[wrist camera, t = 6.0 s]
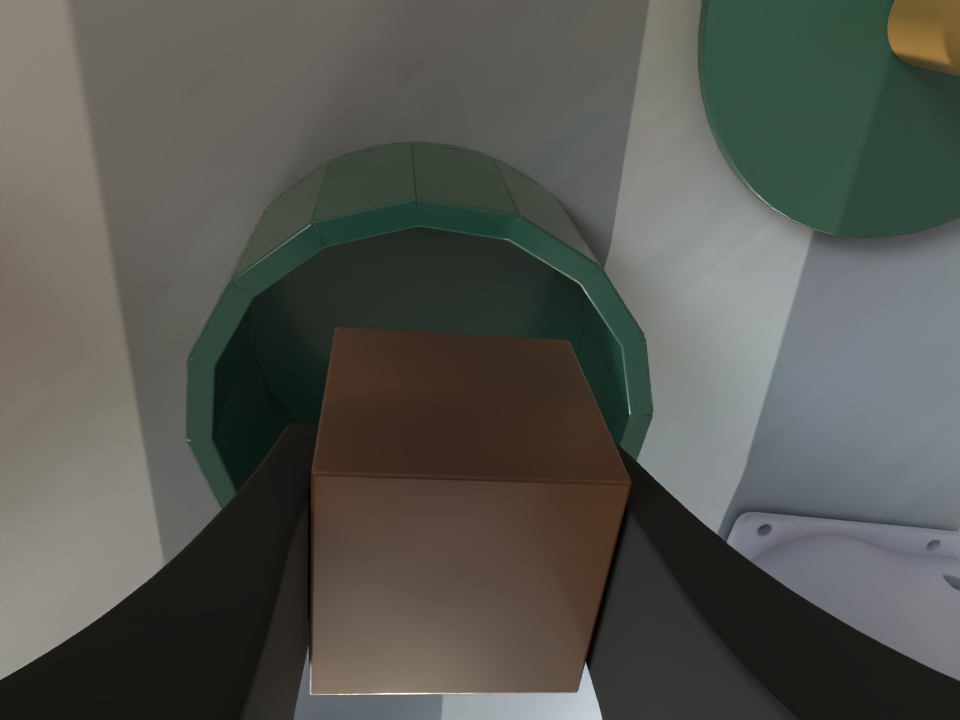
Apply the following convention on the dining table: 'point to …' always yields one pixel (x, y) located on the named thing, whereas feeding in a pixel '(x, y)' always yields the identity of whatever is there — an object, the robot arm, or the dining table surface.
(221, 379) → the tin
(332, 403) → the block
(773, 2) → the tin lid
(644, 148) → the dining table surface
